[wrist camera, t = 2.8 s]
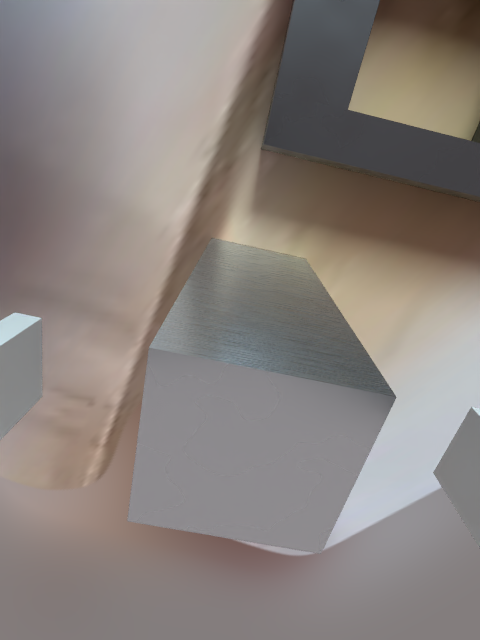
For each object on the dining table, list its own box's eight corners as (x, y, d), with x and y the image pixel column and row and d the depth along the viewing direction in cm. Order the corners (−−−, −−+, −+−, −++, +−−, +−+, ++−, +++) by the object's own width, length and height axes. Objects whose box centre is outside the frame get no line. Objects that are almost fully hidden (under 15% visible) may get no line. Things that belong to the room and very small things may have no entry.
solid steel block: (196, 324, 20) (127, 521, 9) (211, 237, 18) (148, 347, 7) (281, 342, 20) (320, 554, 9) (305, 258, 18) (396, 397, 7)
